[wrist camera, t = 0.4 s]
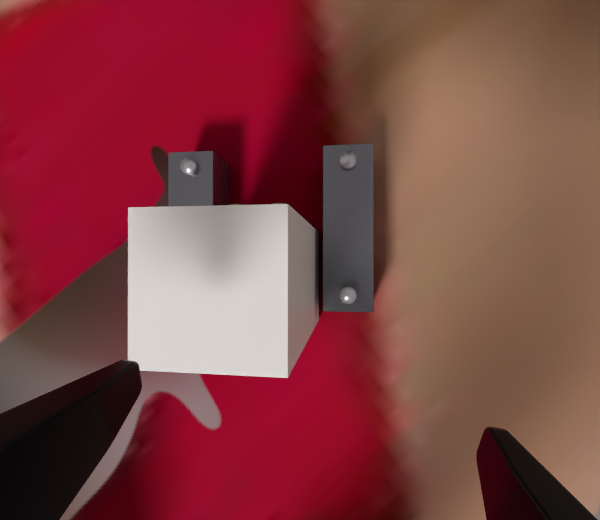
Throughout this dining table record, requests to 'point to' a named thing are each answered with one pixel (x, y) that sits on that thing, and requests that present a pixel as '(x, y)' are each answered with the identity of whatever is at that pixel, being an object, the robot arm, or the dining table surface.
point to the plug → (221, 288)
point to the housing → (336, 214)
